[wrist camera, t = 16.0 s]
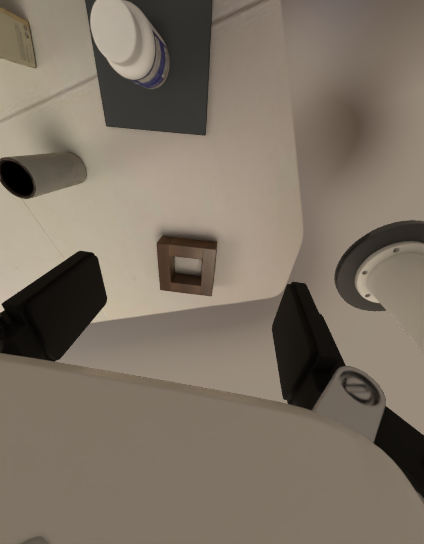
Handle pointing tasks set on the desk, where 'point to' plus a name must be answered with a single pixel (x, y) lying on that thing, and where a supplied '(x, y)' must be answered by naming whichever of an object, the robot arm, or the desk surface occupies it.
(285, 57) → the desk surface
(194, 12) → the mat
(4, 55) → the cosmetic box
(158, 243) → the holder
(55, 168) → the grey hollow tube
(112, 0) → the pill bottle
